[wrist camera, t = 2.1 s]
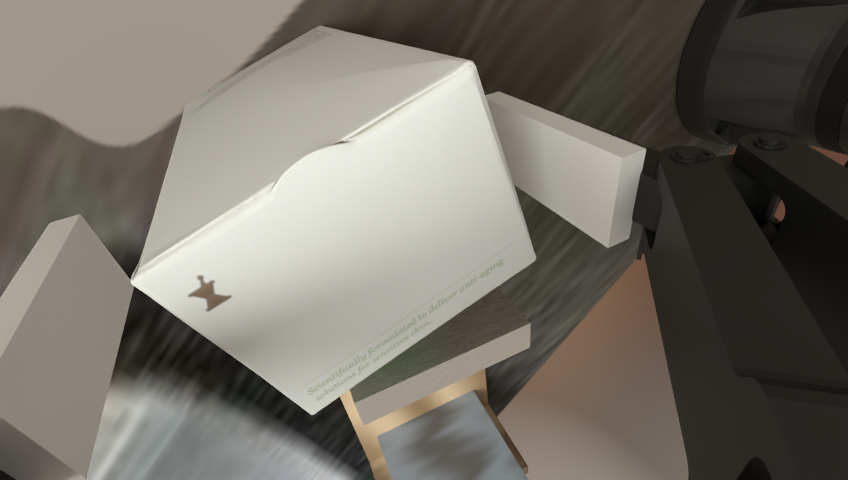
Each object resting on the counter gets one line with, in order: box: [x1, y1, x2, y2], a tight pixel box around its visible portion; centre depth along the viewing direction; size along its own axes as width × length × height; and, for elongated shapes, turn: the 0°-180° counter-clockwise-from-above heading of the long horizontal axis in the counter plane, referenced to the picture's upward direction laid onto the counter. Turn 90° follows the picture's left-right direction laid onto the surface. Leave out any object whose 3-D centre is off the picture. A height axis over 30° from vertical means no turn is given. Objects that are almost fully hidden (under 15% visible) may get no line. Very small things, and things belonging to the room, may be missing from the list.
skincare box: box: [131, 25, 536, 415], centre depth 16 cm, size 8×7×16 cm
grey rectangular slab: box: [350, 287, 530, 425], centre depth 25 cm, size 10×2×9 cm, turn 99°
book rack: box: [340, 369, 528, 480], centre depth 29 cm, size 13×25×15 cm, turn 9°
